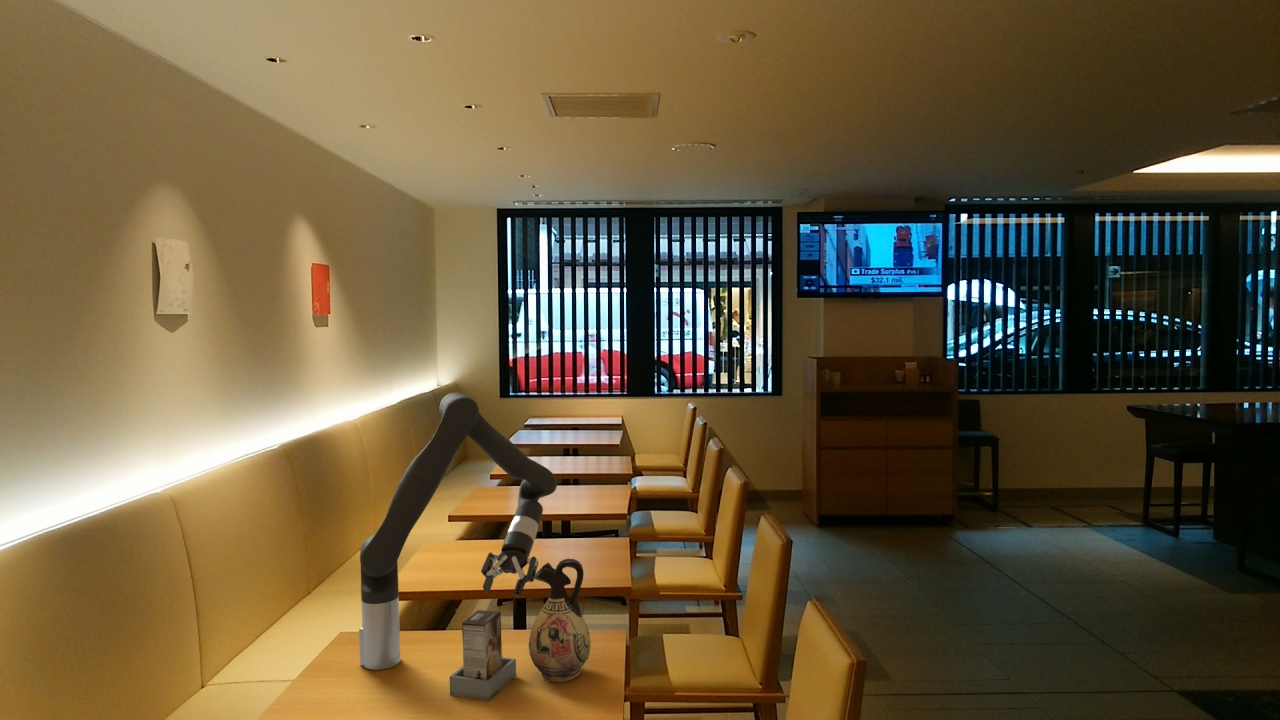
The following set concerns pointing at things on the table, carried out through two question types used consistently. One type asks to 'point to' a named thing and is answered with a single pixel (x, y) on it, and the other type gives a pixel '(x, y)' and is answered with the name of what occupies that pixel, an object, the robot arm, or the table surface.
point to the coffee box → (482, 644)
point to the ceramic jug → (560, 627)
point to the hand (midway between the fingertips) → (501, 593)
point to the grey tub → (483, 682)
